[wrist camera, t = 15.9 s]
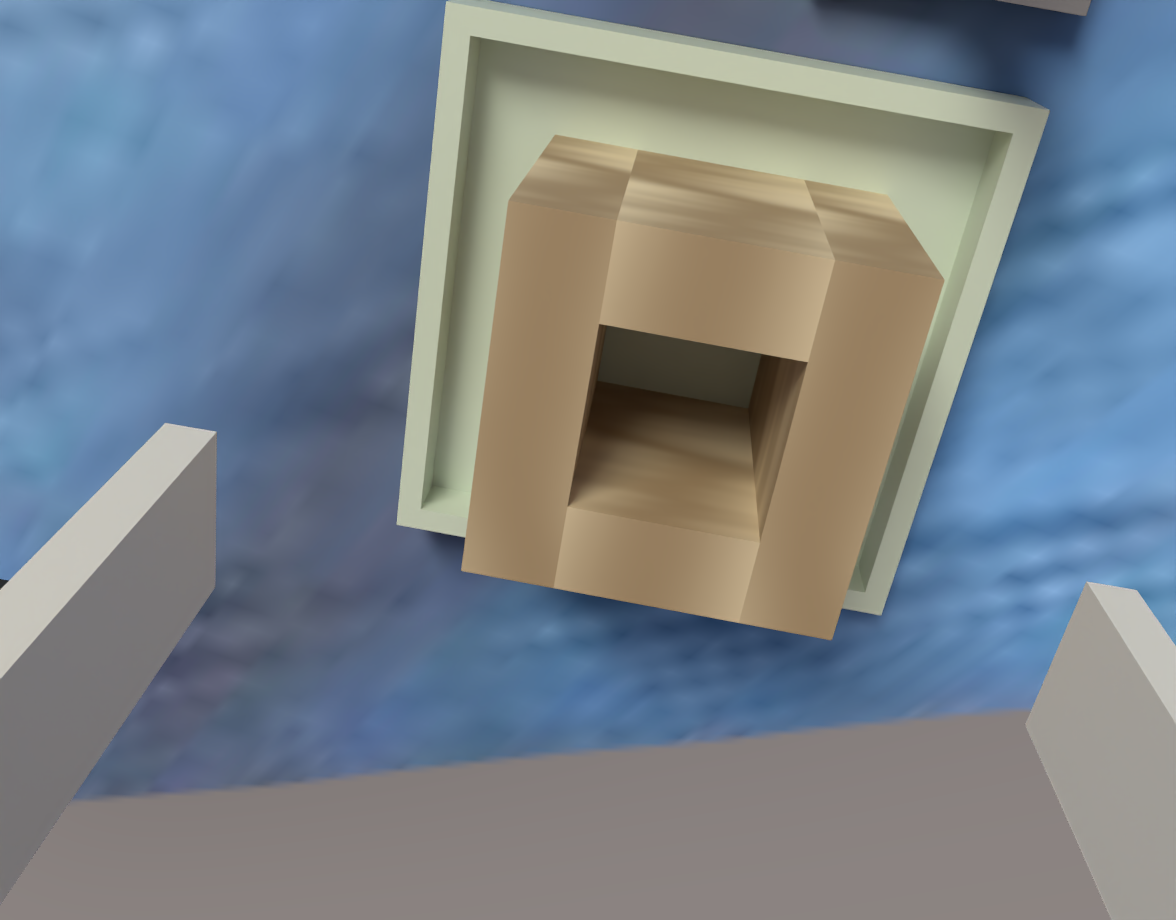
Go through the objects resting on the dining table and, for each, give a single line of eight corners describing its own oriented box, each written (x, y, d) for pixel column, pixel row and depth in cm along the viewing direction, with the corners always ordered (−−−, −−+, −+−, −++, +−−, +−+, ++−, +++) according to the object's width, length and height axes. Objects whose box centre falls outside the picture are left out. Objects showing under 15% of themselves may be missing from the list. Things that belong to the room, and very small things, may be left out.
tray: (414, 490, 32) (396, 524, 30) (464, -4, 26) (446, 1, 24) (871, 576, 31) (880, 615, 30) (1025, 97, 26) (1049, 110, 24)
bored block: (512, 435, 30) (461, 570, 24) (555, 134, 26) (508, 199, 20) (805, 489, 30) (832, 640, 24) (887, 194, 26) (944, 279, 20)
